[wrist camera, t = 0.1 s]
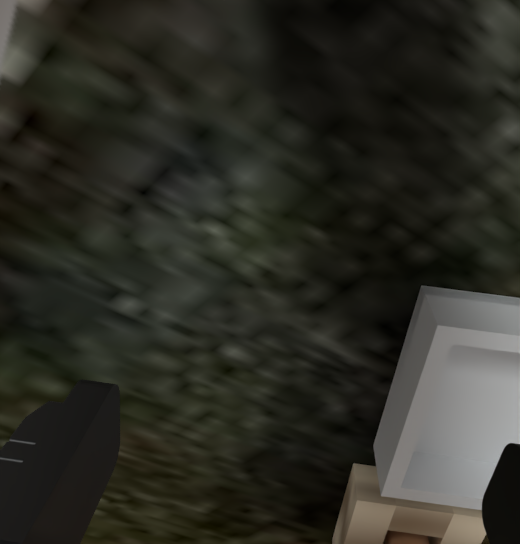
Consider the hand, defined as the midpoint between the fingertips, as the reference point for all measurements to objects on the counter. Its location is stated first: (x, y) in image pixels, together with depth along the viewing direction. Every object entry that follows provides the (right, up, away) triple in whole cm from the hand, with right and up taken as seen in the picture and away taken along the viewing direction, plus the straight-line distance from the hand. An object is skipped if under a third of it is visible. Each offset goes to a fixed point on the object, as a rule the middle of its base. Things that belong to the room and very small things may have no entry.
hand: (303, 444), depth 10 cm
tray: (+14, -4, +20) cm, 25 cm away
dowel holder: (+10, -15, +27) cm, 32 cm away
